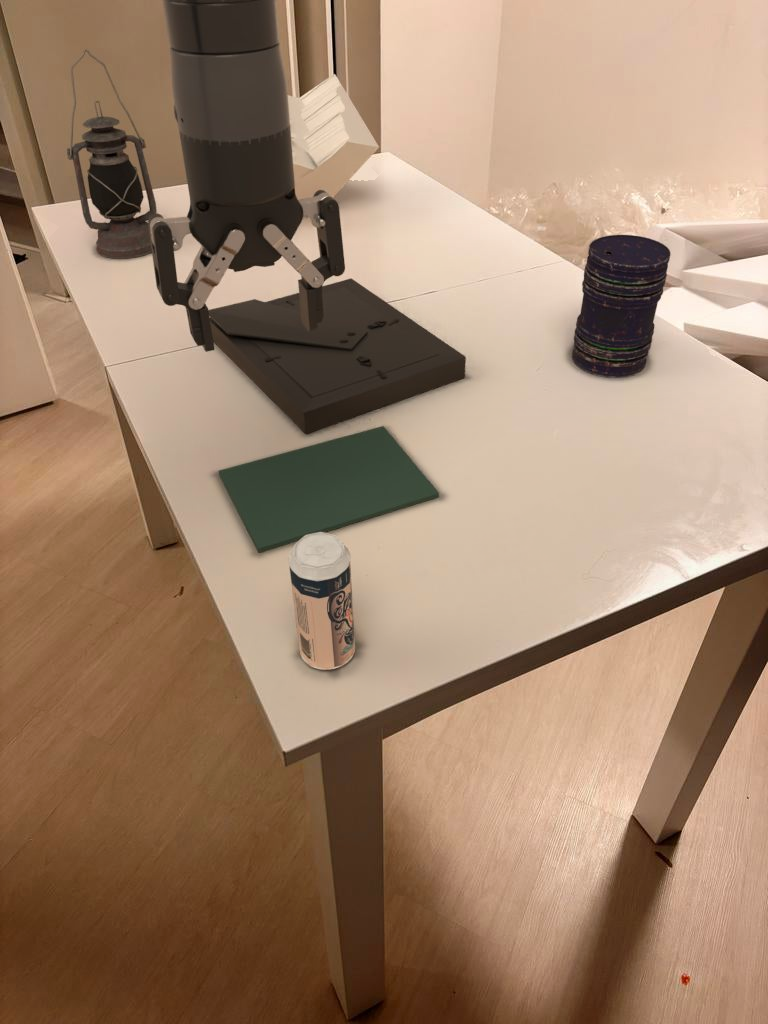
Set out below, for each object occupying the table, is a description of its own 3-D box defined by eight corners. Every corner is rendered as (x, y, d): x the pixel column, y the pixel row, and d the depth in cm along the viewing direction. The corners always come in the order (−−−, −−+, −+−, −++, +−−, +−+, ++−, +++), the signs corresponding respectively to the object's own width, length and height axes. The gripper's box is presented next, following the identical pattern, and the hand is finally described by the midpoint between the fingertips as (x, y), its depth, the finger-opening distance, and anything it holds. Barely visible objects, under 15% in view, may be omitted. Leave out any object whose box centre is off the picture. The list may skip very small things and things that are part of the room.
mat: (258, 553, 79) (257, 548, 78) (218, 474, 88) (218, 470, 88) (439, 497, 85) (439, 492, 85) (383, 430, 95) (383, 425, 94)
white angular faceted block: (221, 237, 142) (306, 135, 126) (178, 162, 143) (257, 52, 127) (296, 238, 158) (379, 147, 142) (256, 171, 159) (334, 74, 143)
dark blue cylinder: (621, 336, 112) (643, 230, 102) (661, 370, 104) (688, 259, 95) (557, 348, 109) (573, 240, 100) (594, 383, 102) (614, 271, 92)
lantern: (153, 229, 144) (116, 38, 125) (173, 249, 137) (136, 50, 118) (84, 243, 140) (34, 47, 120) (100, 264, 133) (50, 60, 113)
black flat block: (209, 338, 113) (305, 434, 94) (205, 310, 110) (303, 404, 91) (352, 297, 122) (464, 378, 104) (351, 271, 119) (466, 348, 101)
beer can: (354, 673, 67) (348, 570, 59) (297, 673, 67) (284, 570, 60) (356, 630, 71) (351, 528, 63) (302, 630, 71) (290, 528, 63)
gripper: (137, 147, 50) (181, 376, 60) (352, 121, 54) (358, 340, 64) (118, 118, 55) (162, 333, 65) (315, 96, 59) (327, 302, 70)
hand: (259, 336), depth 65 cm, fingers open, 8 cm apart
